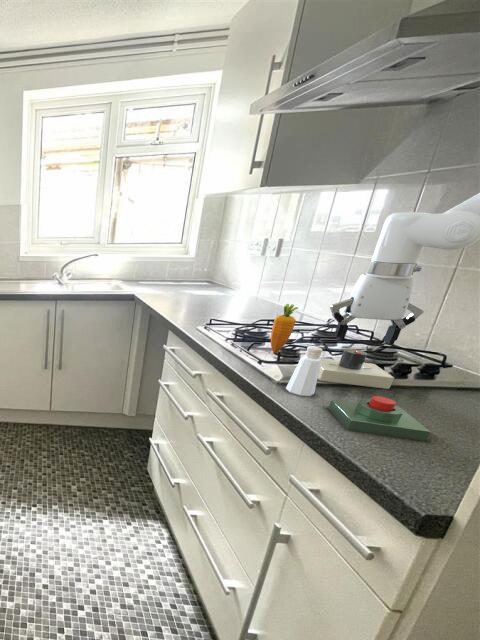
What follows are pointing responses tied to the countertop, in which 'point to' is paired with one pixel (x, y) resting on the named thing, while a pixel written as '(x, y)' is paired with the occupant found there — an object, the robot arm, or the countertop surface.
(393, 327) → the robot arm
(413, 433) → the green button base
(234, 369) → the countertop surface
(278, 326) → the carrot
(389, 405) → the button
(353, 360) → the hob knob
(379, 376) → the hob panel
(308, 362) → the pepper shaker
